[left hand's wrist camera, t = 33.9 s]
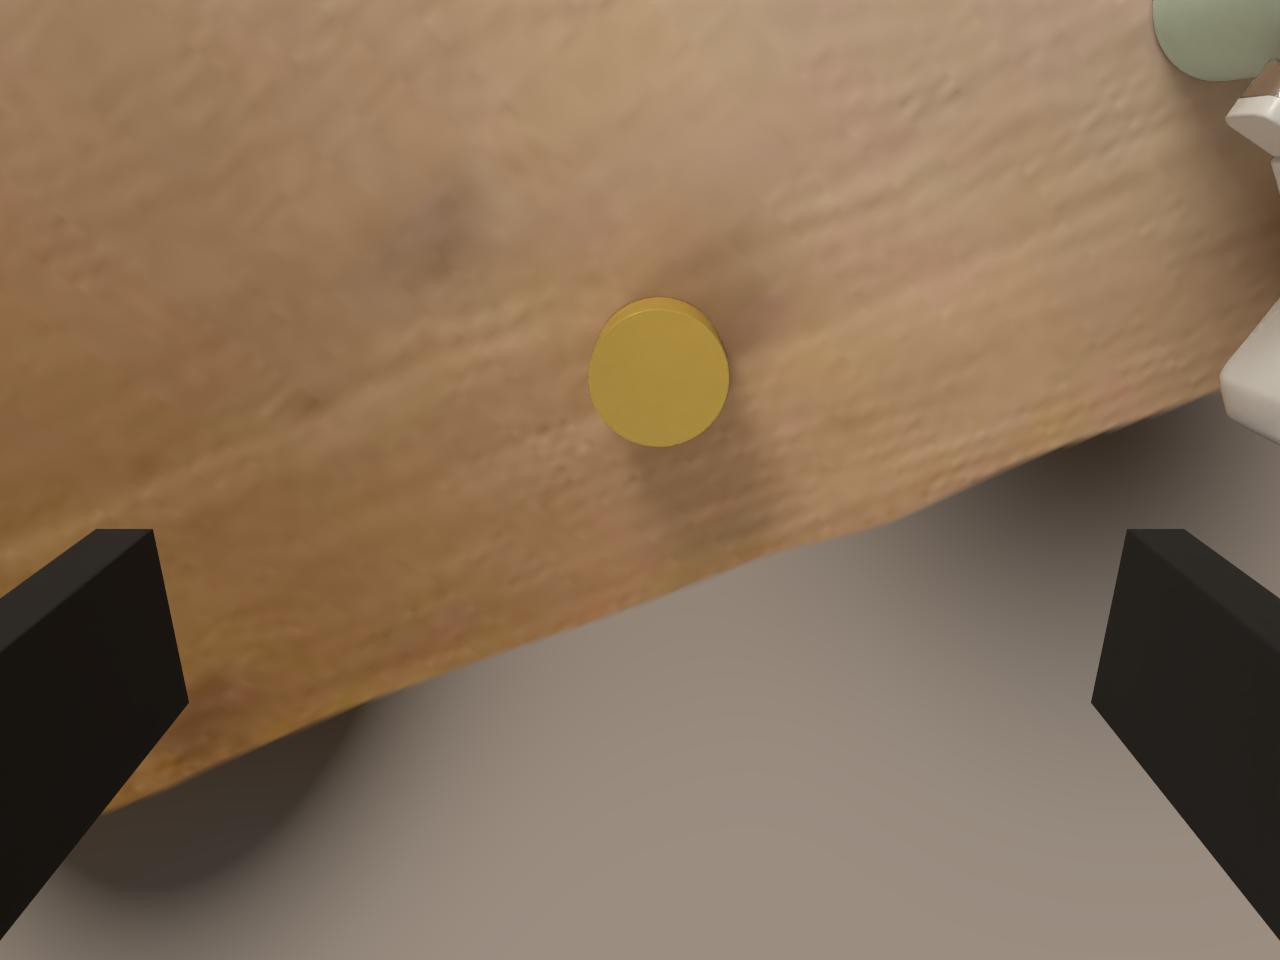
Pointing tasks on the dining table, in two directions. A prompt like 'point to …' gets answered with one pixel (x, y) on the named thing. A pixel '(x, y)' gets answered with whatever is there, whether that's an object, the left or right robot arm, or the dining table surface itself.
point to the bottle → (1218, 36)
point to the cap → (659, 372)
